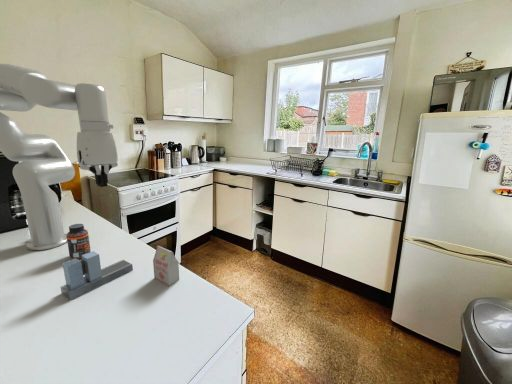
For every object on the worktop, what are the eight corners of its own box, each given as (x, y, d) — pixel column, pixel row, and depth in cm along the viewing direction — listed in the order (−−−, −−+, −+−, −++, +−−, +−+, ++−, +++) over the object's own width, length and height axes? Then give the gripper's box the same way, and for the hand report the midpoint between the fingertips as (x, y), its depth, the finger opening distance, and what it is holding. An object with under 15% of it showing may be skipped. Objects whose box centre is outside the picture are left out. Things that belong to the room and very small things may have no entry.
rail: (61, 293, 64) (56, 263, 62) (123, 265, 78) (121, 239, 76) (70, 300, 61) (64, 269, 59) (132, 270, 76) (130, 244, 73)
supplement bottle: (80, 261, 79) (75, 230, 76) (65, 259, 80) (59, 227, 78) (95, 253, 85) (91, 223, 82) (81, 250, 86) (76, 221, 83)
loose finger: (82, 278, 67) (79, 256, 65) (96, 272, 70) (93, 251, 68) (88, 282, 65) (84, 259, 64) (102, 276, 68) (98, 254, 67)
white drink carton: (164, 272, 75) (162, 243, 73) (179, 279, 72) (177, 249, 69) (154, 278, 72) (152, 248, 70) (169, 286, 69) (167, 254, 66)
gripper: (113, 128, 81) (118, 181, 86) (60, 126, 69) (70, 188, 73) (125, 128, 77) (131, 184, 82) (72, 127, 65) (82, 192, 69)
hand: (102, 186), depth 77 cm, fingers closed
